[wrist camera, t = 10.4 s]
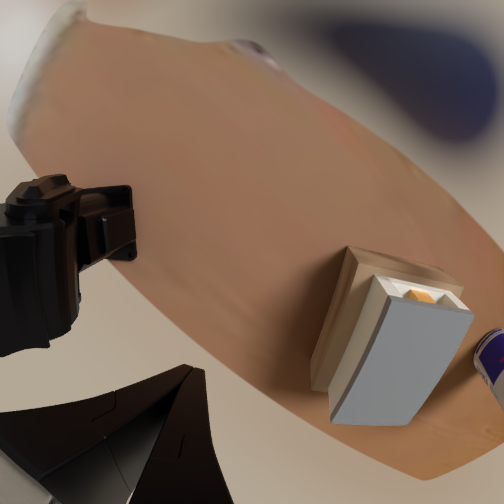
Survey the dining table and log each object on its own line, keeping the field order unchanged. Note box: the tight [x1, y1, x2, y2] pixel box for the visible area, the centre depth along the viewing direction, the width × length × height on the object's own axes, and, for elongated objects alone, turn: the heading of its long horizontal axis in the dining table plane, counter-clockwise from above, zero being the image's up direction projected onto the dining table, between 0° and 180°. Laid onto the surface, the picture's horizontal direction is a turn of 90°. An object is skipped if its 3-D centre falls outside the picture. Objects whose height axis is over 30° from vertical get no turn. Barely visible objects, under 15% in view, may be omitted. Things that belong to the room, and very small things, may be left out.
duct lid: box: [330, 295, 475, 426], centre depth 15 cm, size 6×10×1 cm, turn 169°
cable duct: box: [328, 274, 469, 416], centre depth 16 cm, size 6×10×3 cm, turn 169°
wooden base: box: [310, 246, 464, 393], centre depth 20 cm, size 9×11×4 cm
